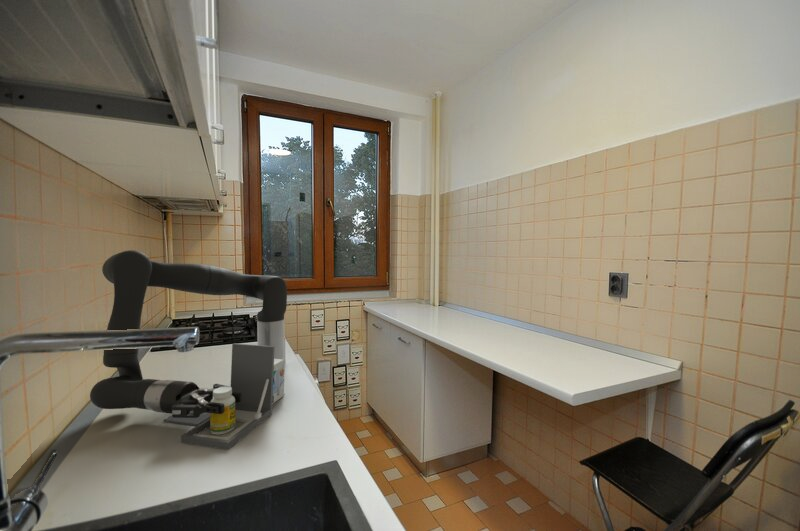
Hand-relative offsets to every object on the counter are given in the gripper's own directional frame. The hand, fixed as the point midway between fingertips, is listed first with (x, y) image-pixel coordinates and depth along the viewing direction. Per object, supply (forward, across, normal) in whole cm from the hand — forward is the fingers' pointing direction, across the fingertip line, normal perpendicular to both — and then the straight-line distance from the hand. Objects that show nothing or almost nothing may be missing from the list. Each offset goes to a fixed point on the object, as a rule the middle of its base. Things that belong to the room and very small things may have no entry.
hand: (232, 403), depth 80 cm
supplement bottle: (-3, 0, +7) cm, 7 cm away
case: (-2, +1, +6) cm, 7 cm away
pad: (-15, +5, +6) cm, 17 cm away
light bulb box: (-2, +15, +7) cm, 17 cm away
